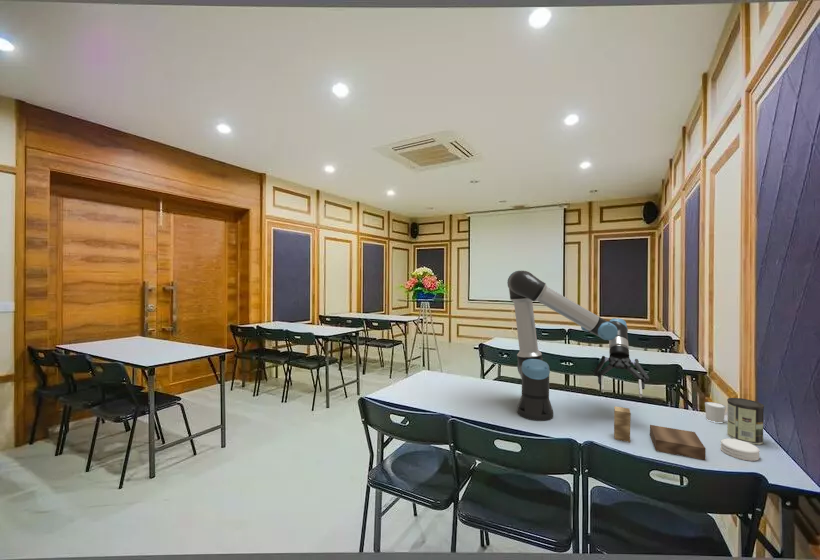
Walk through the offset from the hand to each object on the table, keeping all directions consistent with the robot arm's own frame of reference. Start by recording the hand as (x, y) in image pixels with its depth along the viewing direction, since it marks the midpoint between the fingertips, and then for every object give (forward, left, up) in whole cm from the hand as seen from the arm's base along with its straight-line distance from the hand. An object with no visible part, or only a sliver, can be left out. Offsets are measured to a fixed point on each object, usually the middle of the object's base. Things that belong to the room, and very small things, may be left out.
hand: (621, 393), depth 146 cm
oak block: (0, -10, -14) cm, 18 cm away
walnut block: (+17, -9, -14) cm, 24 cm away
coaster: (+36, -5, -15) cm, 39 cm away
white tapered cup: (+37, +27, -14) cm, 48 cm away
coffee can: (+42, +11, -14) cm, 45 cm away
